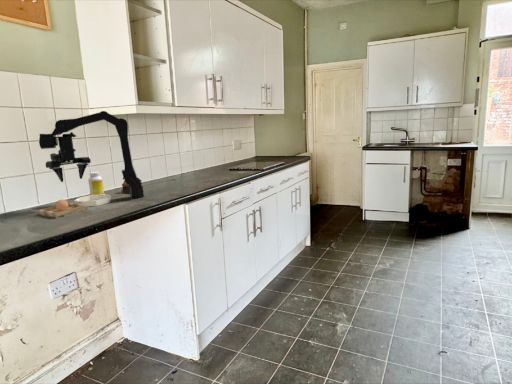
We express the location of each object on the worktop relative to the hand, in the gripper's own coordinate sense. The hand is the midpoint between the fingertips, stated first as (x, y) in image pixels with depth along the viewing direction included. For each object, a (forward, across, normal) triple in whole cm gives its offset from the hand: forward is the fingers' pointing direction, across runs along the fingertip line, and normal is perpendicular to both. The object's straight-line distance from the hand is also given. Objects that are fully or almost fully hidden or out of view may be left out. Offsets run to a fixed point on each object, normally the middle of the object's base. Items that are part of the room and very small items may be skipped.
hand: (71, 180), depth 166 cm
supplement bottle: (+12, -17, -8) cm, 22 cm away
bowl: (+12, -5, +7) cm, 15 cm away
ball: (+11, +11, +9) cm, 18 cm away
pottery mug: (+12, -30, +2) cm, 33 cm away
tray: (+12, +11, +9) cm, 19 cm away
